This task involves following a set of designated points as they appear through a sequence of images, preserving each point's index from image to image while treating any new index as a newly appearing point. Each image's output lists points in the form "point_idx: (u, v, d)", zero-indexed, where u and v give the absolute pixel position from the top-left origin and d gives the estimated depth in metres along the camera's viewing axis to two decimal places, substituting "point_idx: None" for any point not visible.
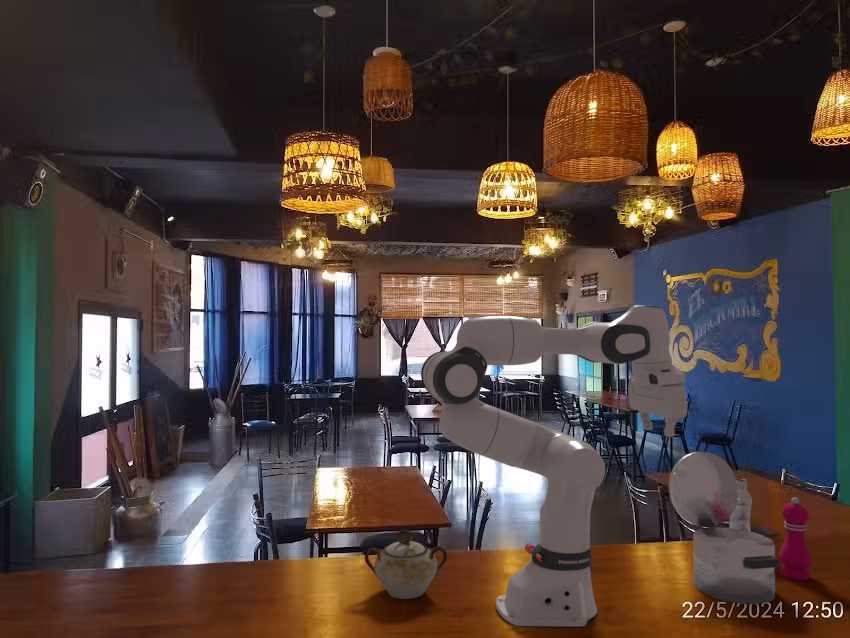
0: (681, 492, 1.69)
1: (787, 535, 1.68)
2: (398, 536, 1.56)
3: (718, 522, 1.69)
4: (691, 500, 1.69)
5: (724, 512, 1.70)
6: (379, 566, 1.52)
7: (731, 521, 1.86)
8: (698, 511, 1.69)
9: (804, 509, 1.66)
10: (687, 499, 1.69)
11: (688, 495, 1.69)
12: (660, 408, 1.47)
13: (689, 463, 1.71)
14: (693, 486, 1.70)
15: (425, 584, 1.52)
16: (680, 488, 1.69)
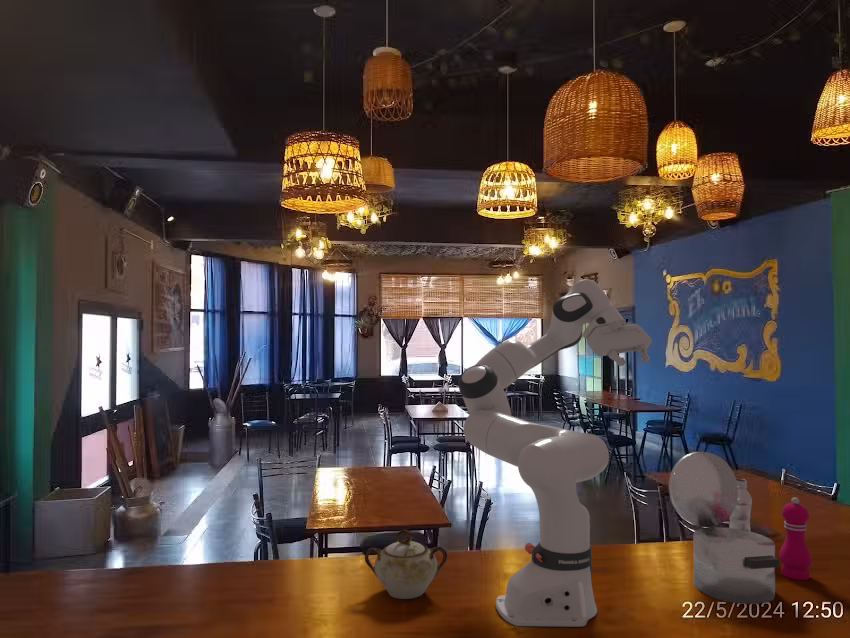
0: (681, 492, 1.69)
1: (787, 535, 1.68)
2: (398, 536, 1.56)
3: (718, 522, 1.69)
4: (691, 500, 1.69)
5: (724, 512, 1.70)
6: (379, 566, 1.52)
7: (731, 521, 1.86)
8: (698, 511, 1.69)
9: (804, 509, 1.66)
10: (687, 499, 1.69)
11: (688, 495, 1.69)
12: None
13: (689, 463, 1.71)
14: (693, 486, 1.70)
15: (425, 584, 1.52)
16: (680, 488, 1.69)
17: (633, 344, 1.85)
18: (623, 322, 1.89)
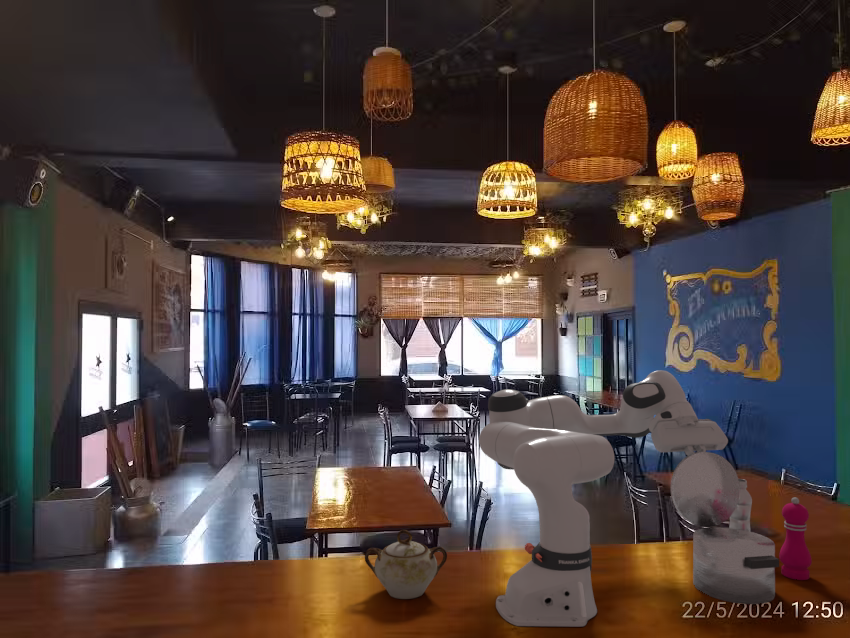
0: (683, 492, 1.68)
1: (787, 535, 1.68)
2: (398, 536, 1.56)
3: (718, 522, 1.69)
4: (692, 500, 1.69)
5: (725, 513, 1.70)
6: (379, 566, 1.52)
7: (731, 521, 1.86)
8: (699, 511, 1.69)
9: (804, 509, 1.66)
10: (688, 499, 1.69)
11: (689, 495, 1.69)
12: None
13: (692, 463, 1.70)
14: (695, 487, 1.69)
15: (425, 584, 1.52)
16: (682, 488, 1.68)
17: (702, 443, 1.75)
18: (695, 418, 1.80)
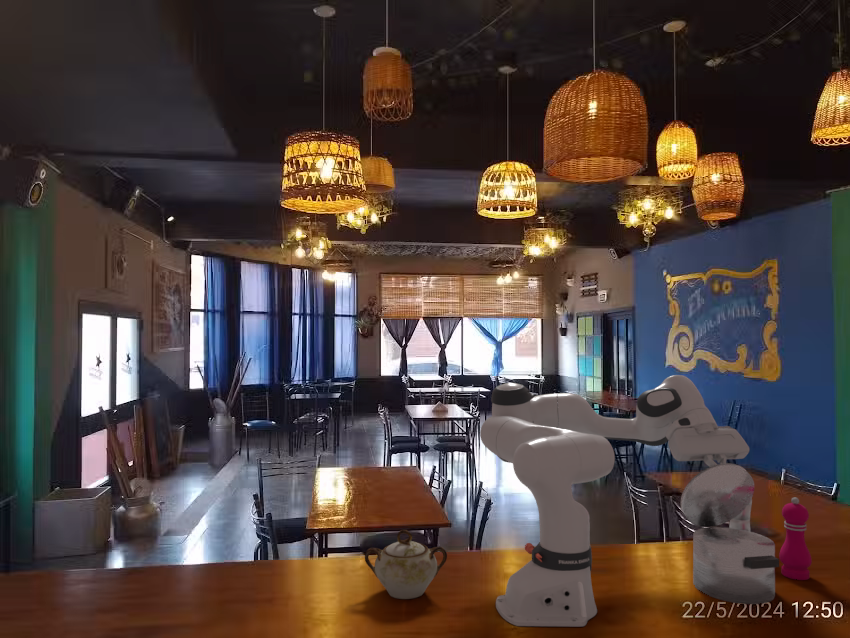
0: (693, 500, 1.64)
1: (787, 535, 1.68)
2: (398, 536, 1.56)
3: (719, 523, 1.69)
4: (700, 506, 1.65)
5: (729, 515, 1.68)
6: (379, 566, 1.52)
7: (731, 521, 1.86)
8: (704, 515, 1.67)
9: (804, 509, 1.66)
10: (697, 506, 1.65)
11: (699, 502, 1.65)
12: None
13: (712, 477, 1.61)
14: (708, 496, 1.64)
15: (425, 584, 1.52)
16: (694, 497, 1.63)
17: (722, 451, 1.66)
18: (714, 426, 1.71)
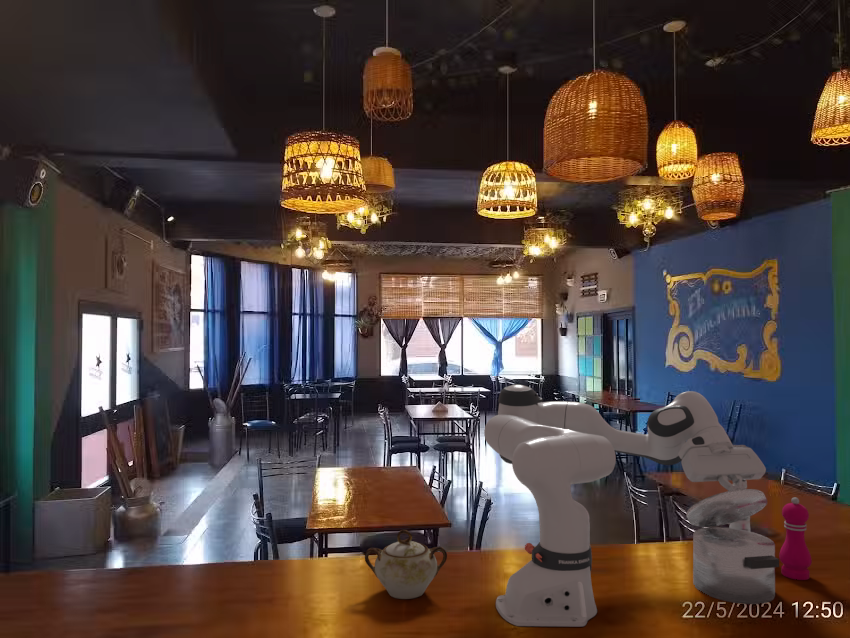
0: (701, 513, 1.61)
1: (787, 535, 1.68)
2: (398, 536, 1.56)
3: (720, 524, 1.69)
4: (706, 516, 1.63)
5: (732, 520, 1.67)
6: (379, 566, 1.52)
7: None
8: (707, 521, 1.65)
9: (804, 509, 1.66)
10: (703, 516, 1.62)
11: (706, 514, 1.62)
12: None
13: (726, 500, 1.56)
14: (717, 511, 1.60)
15: (425, 584, 1.52)
16: (702, 512, 1.60)
17: (738, 472, 1.60)
18: (729, 445, 1.65)
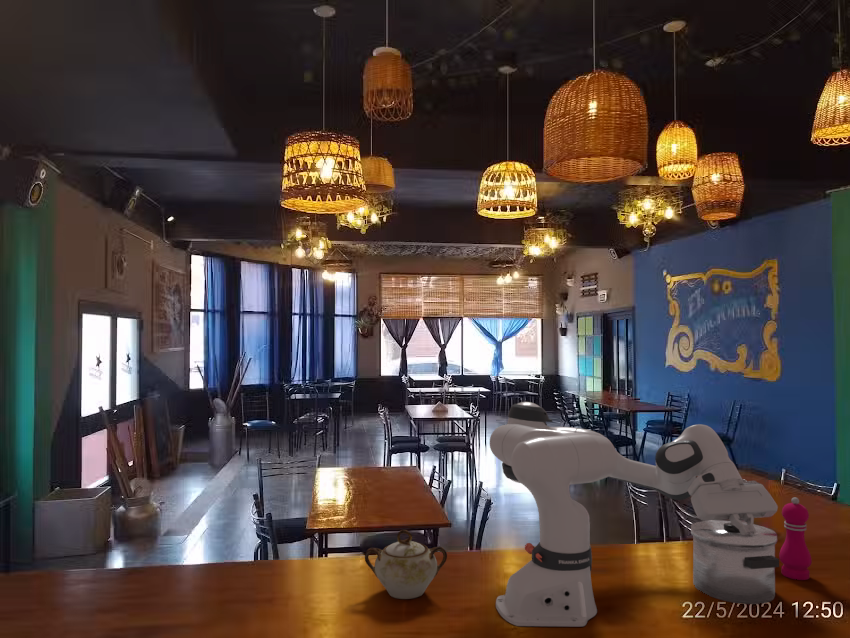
0: None
1: (787, 535, 1.68)
2: (398, 536, 1.56)
3: None
4: None
5: None
6: (379, 566, 1.52)
7: None
8: None
9: (804, 509, 1.66)
10: None
11: None
12: None
13: None
14: None
15: (425, 584, 1.52)
16: None
17: (749, 510, 1.56)
18: (740, 481, 1.61)
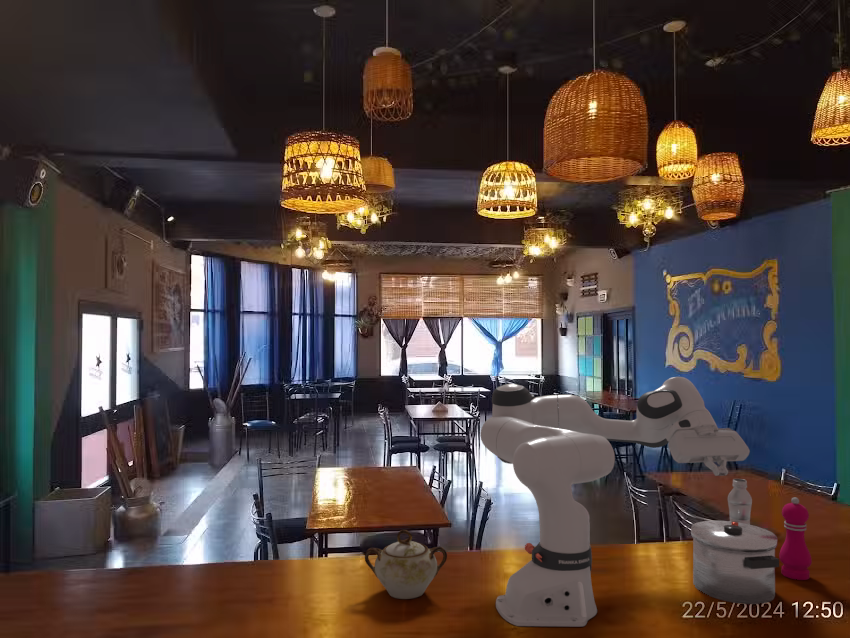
0: None
1: (787, 535, 1.68)
2: (398, 536, 1.56)
3: None
4: None
5: None
6: (379, 566, 1.52)
7: (731, 521, 1.86)
8: None
9: (804, 509, 1.66)
10: None
11: None
12: None
13: None
14: None
15: (425, 584, 1.52)
16: None
17: (723, 453, 1.66)
18: (715, 427, 1.71)
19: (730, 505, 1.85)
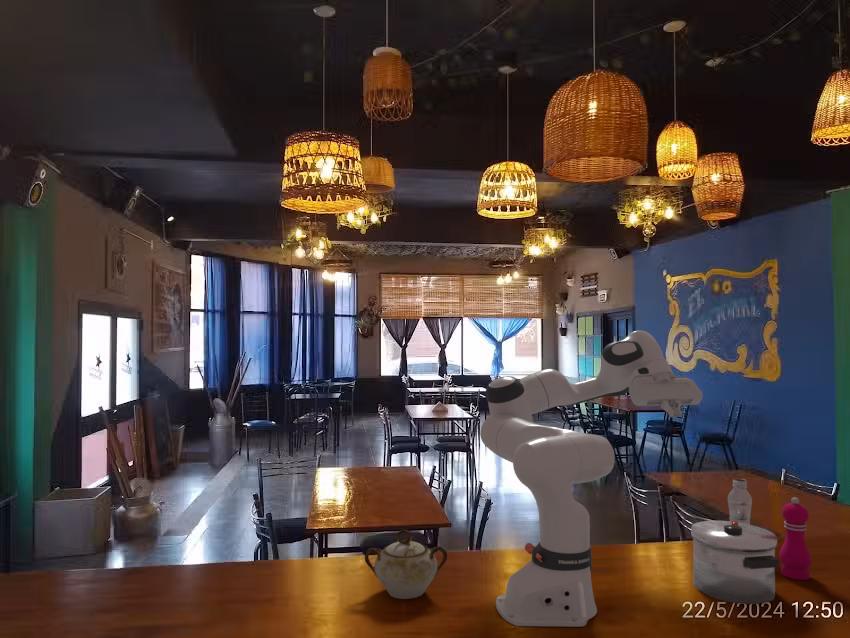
0: None
1: (787, 535, 1.68)
2: (398, 536, 1.56)
3: None
4: None
5: None
6: (379, 566, 1.52)
7: (731, 521, 1.86)
8: None
9: (804, 509, 1.66)
10: None
11: None
12: None
13: None
14: None
15: (425, 584, 1.52)
16: None
17: (678, 397, 1.81)
18: (671, 375, 1.86)
19: (730, 505, 1.85)
